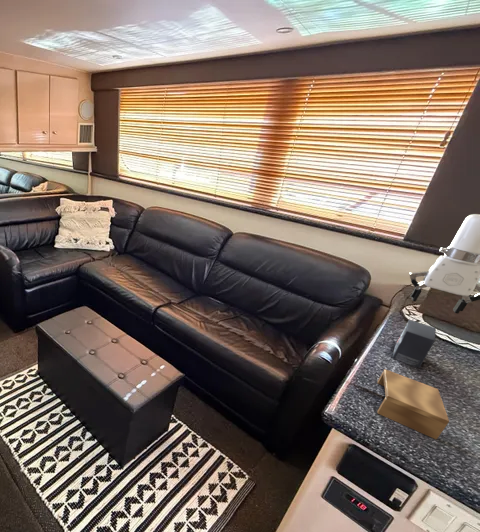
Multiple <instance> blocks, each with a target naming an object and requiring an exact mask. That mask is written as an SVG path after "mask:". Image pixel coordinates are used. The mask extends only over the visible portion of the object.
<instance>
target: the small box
mask: <svg viewBox="0 0 480 532" xmlns="http://www.w3.org/2000/svg"><path fill="white" fill-rule="evenodd" d="M436 330H437V329H436V327H435V326H431V325H428V324H426V323H422V322H419V321H415V320H413V319H408V320H407V322H406V324H405V326H404V328H403V329H402V332H401V334H400V336H399V337H398V340H397V341H396V343H395V345H394V350H393V353H392V358H393V359H395V360H397V361H400V362H402V363H405V364H407V365H410V366H413V367H415V368H419V369H420V368H421V366H422V364H423V363H424V361H425V359H426V357H427V355H428V354H429V352H430V350H431V349H432V347H433V346H434V344H435V342H436V335H437V334H436Z"/></svg>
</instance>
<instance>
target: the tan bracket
mask: <svg viewBox="0 0 480 532" xmlns="http://www.w3.org/2000/svg"><path fill="white" fill-rule="evenodd" d="M377 385H380V386H382V387H384V395H385V397H384V398H383V400H382V402H381V404H380V406H379V407H378V408H377V414H378V415H380V416H382V417H385V418H386V419H390V420H392V421H394V422H395V423H398V424H400V425H402V426H405V427H407V428H409V429H412V430H414V431H416V432H418V433H421V434H423V435H425V436H427V437H429V438H432V439H434V440H438V438H440V436H441V434H442V433H443V431H444V430H445V428H446V427H447V425H448V424H449V423H450V418H449V416H448V413H447V411H446V408H445V404H444V402H443V399H442V396H441V393H440V391H439V388H436V387H434V386H431V385H428V384H426V383H423V382H420V381H417V380H415V379H412V378H410V377H407V376H404V375H402V374H399V373H396V372H395V371H394V372H393V371H391V370H389V369H386V368H384V369H383V371H382V372H381V375H380V376H379V378H378V380H377Z"/></svg>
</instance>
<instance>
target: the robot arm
mask: <svg viewBox="0 0 480 532" xmlns="http://www.w3.org/2000/svg"><path fill="white" fill-rule="evenodd" d="M439 252H440V253H443V254H442V255H440V256H439V257H437V259H436V260H435V261H434V262H433V263H432V265H431V266H430V268H429V269H428V270H426V271H417V272H416V271H414V272H409V279H410V283H411V284H412V285H413V287H414V288H413V289H412V292H411V293H410V298H411V300H412V302H416V301H417V300H418V298H419V297H420V295H421V292H422V289H424V288H427V287H428V288H430V289H433V290H438V291H441V292H445V293H450V294H453V295H457V296H460V297H461V298H459V299H458V300H457V302H456V304H455V305H454V307H453V309H452V311H453V313H454V314H457V315H458V314H459V313H460V312H463V311H464V309H466V306H467V305H468V304H469V303H472V302H476V301H480V284H478V282H479V280H480V214H479V213H472V214H468V216H466V217H465V218H464V220H463V222H462V224H461V226H460V227H459V229H458V230H457V232H456V234H455V236H454V238H453V239H452V241H451V243H450V245H449V246H447V247H440V248H439ZM419 277H423V279H422V281H420V282H418V281H417V278H419ZM474 290H476V291H477V292H478V293H476V294H473V295H472V293H473V292H474Z"/></svg>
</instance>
